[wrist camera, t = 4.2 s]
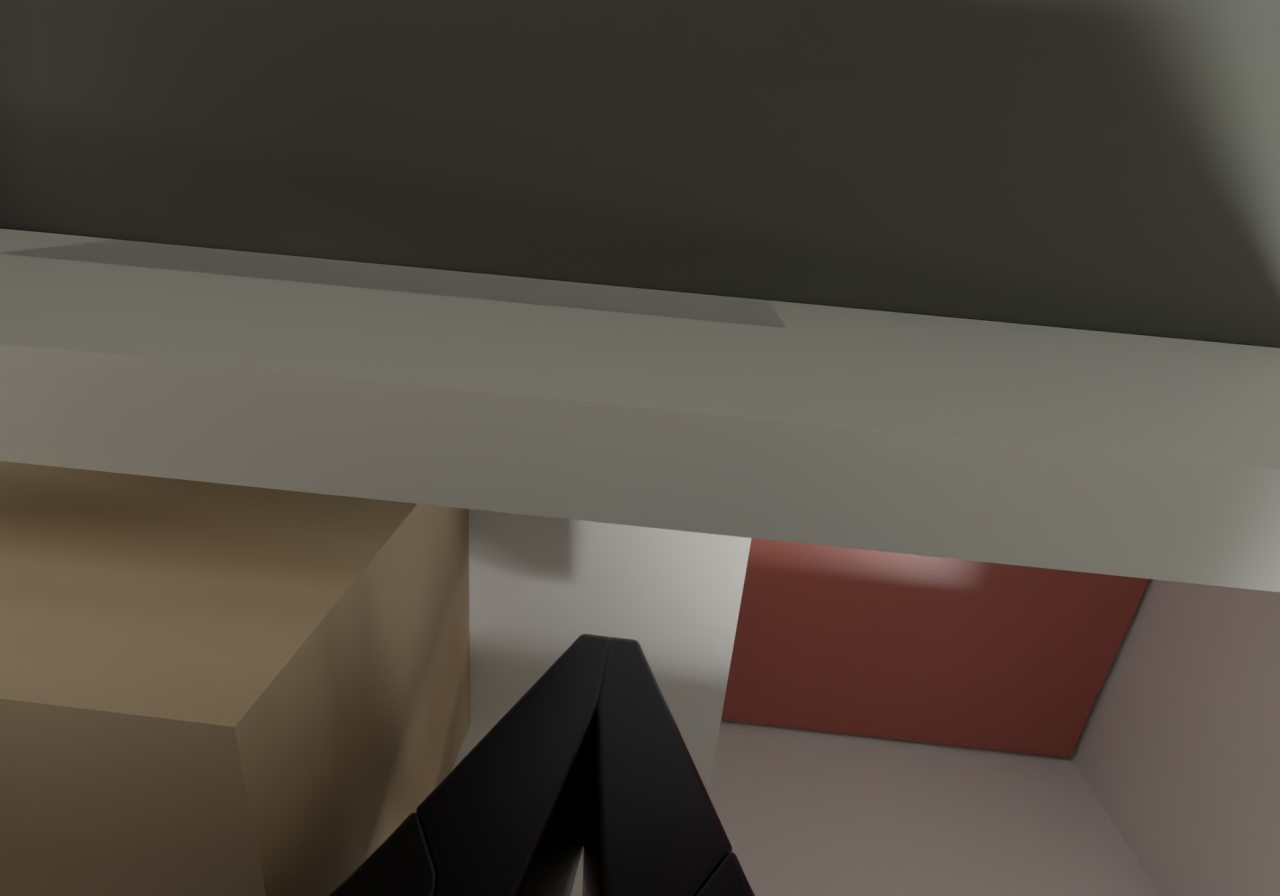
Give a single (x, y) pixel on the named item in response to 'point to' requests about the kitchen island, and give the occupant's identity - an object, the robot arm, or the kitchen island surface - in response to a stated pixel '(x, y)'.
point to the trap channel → (762, 536)
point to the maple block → (219, 681)
